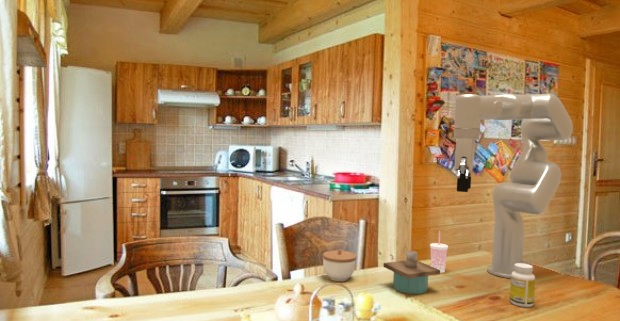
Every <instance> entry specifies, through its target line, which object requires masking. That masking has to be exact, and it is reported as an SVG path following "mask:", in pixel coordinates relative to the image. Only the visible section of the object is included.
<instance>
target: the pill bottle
mask: <svg viewBox="0 0 620 321" xmlns="http://www.w3.org/2000/svg"><path fill="white" fill-rule="evenodd" d="M533 268H534V267H533V265H529V264H524V263H516V264H515V265H514V269H515V271H513V272H512V274H511V278H510V289H509V290H510V292H509V301H510V303H511V304H512V305H514V306H518V307H523V308H530V307H531V308H532V307H533V306H534V305H535V289H536V288H535V287H536V285H535V284H536V276H535V274H533V271H534V270H533Z"/></svg>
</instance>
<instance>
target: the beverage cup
mask: <svg viewBox="0 0 620 321" xmlns="http://www.w3.org/2000/svg"><path fill="white" fill-rule="evenodd" d="M429 245H430V246H429V247H430V266H431V267H434V268H436V269H439V270H440V274H441V273H445V272H446V264H447V255H448V254H447V253H448V249H449V245H447V244H445V243H441V230H439V231H438V242H433V243H430V244H429Z"/></svg>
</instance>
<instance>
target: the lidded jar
mask: <svg viewBox="0 0 620 321" xmlns="http://www.w3.org/2000/svg"><path fill="white" fill-rule="evenodd" d="M356 260H357V255H356V254H355V253H353V252H352V251H347V250H342V249H341V248H339V249H337V250H328V251H325V252H323V253H322V264H323V270H324V272H325V274H326V275H327V276H328V278H329V279H330V280H332V281H335V282H345V281H348V280H349V278H351V277H352V276H353V274H354V272H355V269H356V265H357V264H356V263H357V262H356Z"/></svg>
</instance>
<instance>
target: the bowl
mask: <svg viewBox="0 0 620 321" xmlns="http://www.w3.org/2000/svg"><path fill="white" fill-rule="evenodd" d="M392 277H393V281H392V282H393V283H392V286H393V287H392V288H393V289H394V290H396V291H397V292H400V293H404V294H407V295H409V294H411V295H419V294H425V293H426V292H427V291H428V288H429V286H428V284H429V276H422V277H415V278H406V277H404V276H402V275H399V274H397V273H395V272H393V276H392Z"/></svg>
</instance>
